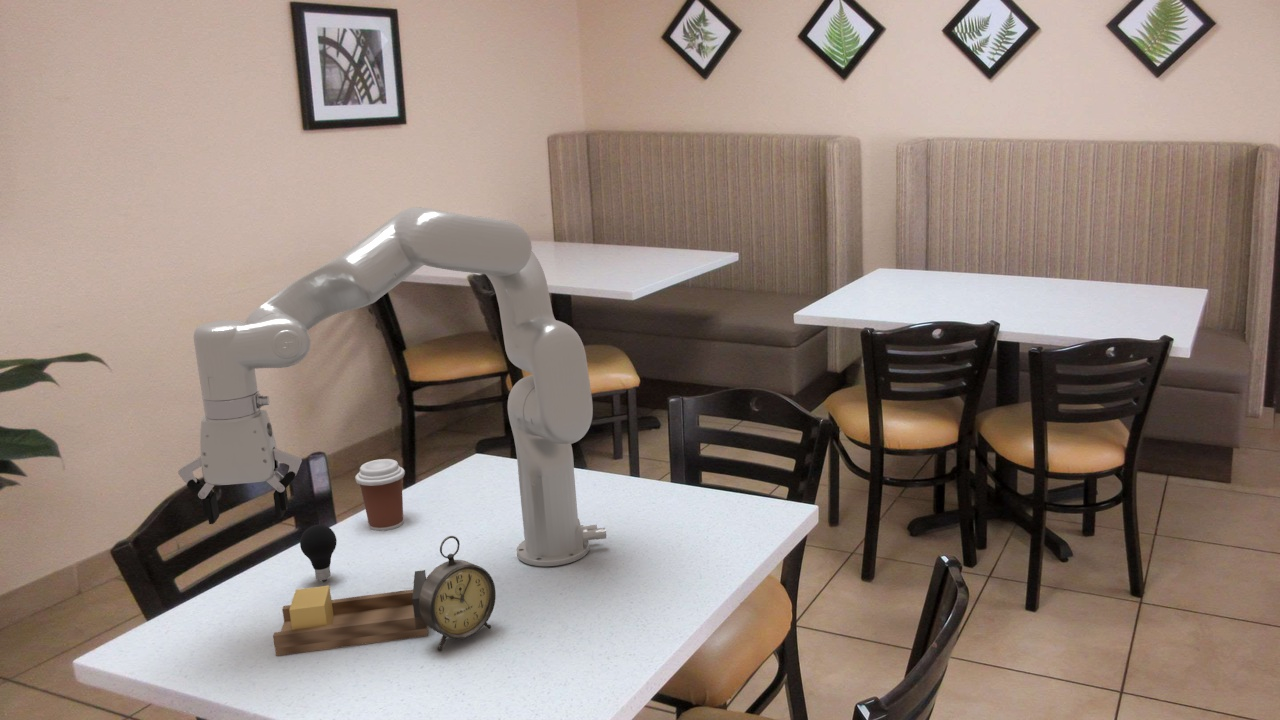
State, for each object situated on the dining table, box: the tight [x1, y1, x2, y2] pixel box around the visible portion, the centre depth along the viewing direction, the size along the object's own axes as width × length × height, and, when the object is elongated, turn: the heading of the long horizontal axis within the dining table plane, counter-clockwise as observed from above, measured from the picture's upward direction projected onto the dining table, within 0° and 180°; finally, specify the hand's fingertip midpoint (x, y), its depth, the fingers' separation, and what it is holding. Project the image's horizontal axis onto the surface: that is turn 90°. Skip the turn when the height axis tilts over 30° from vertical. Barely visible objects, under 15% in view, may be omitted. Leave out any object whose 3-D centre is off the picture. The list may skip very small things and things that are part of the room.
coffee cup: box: [354, 458, 406, 532], centre depth 207 cm, size 9×9×12 cm
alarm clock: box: [419, 535, 497, 652], centre depth 160 cm, size 11×5×16 cm, turn 131°
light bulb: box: [299, 524, 338, 582], centre depth 184 cm, size 6×6×10 cm
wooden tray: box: [272, 569, 429, 657], centre depth 166 cm, size 22×10×6 cm, turn 99°
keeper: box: [289, 585, 334, 630], centre depth 165 cm, size 5×7×5 cm
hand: (247, 517), depth 161 cm, fingers open, 9 cm apart
